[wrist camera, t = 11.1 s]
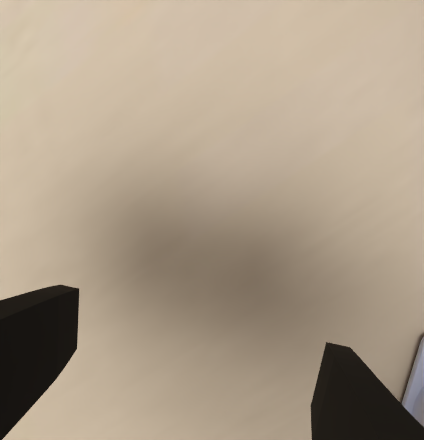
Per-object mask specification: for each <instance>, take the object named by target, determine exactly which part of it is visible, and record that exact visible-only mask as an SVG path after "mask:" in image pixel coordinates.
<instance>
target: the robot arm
mask: <svg viewBox="0 0 424 440" xmlns="http://www.w3.org/2000/svg"><path fill="white" fill-rule="evenodd" d="M78 307H79V289H78V288H73V287H68V286H64V285H57V286H51V287H47V288H43V289H39V290H35V291H32V292H28V293H25V294H21V295H18V296H14V297H11V298H7V299H4V300H0V440H2V439H3V438H4V437H5V436H6V435H7V434H8V432H9V431H10V430H11V429H12V428H13V427H14V426H15V425H16V424H17V422H18V421H19V420H20V419H21V418H22V417H23V416H24V415H25V414H26V412H27V411H28V410H29V409H30V408H31V407H32V406H33V405H34V404H35V402H36V401H37V400H38V399H39V398H40V397H41V396H42V395H43V393H44V392H45V391H46V390H47V389H48V388H49V387H50V385H51V384H52V383H53V382H54V381H55V380H56V378H57V377H58V376H59V374H60V373H61V372H62V370H63V369H64V367H65V366H66V364H67V363H68V361H69V360H70V358H71V357H72V355H73V354H74V352H75V351H76V349H77V333H78ZM311 428H312V440H424V337H423V338H422V340H421V343H420V346H419V349H418V352H417V356H416V359H415V362H414V365H413V368H412V372H411V375H410V378H409V381H408V385H407V388H406V391H405V394H404V398H403V401H402V404H401V403H400V402H399V401H398V400H397V399H396V398H395V397H394V396H393V395H392V393H391V392H390V391H389V390H388V389H387V388H386V387H385V386H384V385H383V384H382V382H381V381H380V380H379V379H378V378H377V377H376V376H375V375H374V373H373V372H372V371H371V370H370V369H369V368H368V367H367V365H366V364H365V363H364V362H363V361H362V360H361V359H360V357H359V356H358V355H357V354H356V353H355V352H354V351H353V350H352V349H351V348H350V347H346V346H341V345H337V344H332V343H327V342H326V346H325V350H324V354H323V358H322V362H321V367H320V371H319V375H318V379H317V383H316V387H315V391H314V395H313V399H312V403H311Z"/></svg>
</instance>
